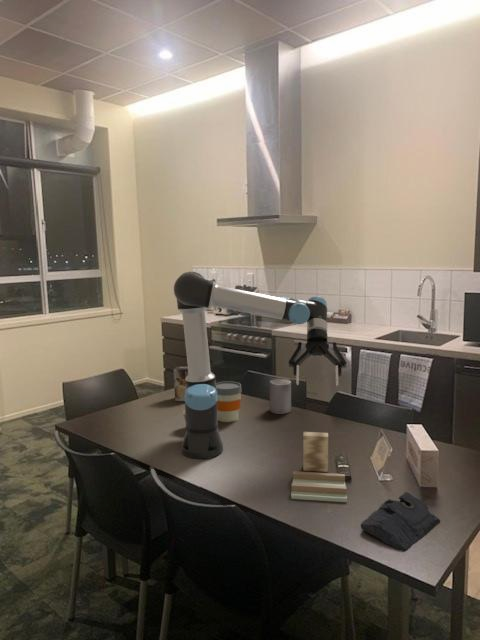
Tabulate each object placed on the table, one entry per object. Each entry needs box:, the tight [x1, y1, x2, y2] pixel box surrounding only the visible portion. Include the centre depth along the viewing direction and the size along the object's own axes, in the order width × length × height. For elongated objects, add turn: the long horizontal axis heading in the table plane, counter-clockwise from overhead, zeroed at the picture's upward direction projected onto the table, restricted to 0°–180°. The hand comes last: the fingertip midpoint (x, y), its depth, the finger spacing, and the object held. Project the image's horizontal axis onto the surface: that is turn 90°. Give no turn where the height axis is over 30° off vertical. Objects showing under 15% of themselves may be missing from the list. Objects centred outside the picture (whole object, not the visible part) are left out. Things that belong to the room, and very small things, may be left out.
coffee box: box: [173, 365, 189, 402], centre depth 240 cm, size 9×6×16 cm
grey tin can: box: [269, 378, 292, 415], centre depth 221 cm, size 10×10×15 cm
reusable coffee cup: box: [216, 380, 243, 423], centre depth 211 cm, size 13×13×15 cm
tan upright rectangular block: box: [302, 431, 329, 473], centre depth 162 cm, size 8×4×12 cm, turn 81°
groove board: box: [290, 470, 348, 503], centre depth 148 cm, size 16×14×3 cm
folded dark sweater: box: [360, 491, 441, 552], centre depth 129 cm, size 15×22×5 cm
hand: (317, 383), depth 169 cm, fingers open, 13 cm apart
